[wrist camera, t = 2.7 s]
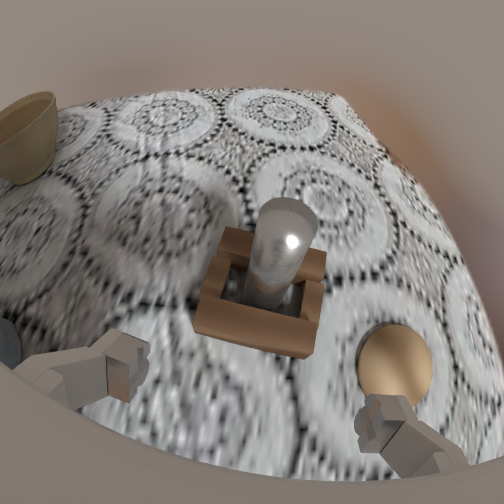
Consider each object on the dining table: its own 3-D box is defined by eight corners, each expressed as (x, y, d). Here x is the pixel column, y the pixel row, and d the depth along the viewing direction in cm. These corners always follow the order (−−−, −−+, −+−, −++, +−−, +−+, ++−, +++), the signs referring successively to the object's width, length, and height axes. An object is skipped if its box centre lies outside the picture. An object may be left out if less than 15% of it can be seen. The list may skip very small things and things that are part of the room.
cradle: (308, 360, 27) (318, 354, 24) (190, 331, 27) (187, 321, 25) (322, 266, 33) (331, 253, 30) (220, 240, 33) (221, 225, 30)
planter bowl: (74, 127, 43) (61, 80, 34) (67, 181, 36) (44, 124, 26) (8, 154, 39) (-10, 113, 29) (-10, 213, 31) (-40, 167, 22)
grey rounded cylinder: (259, 323, 28) (287, 256, 17) (234, 294, 30) (245, 213, 19) (288, 300, 30) (329, 226, 19) (263, 273, 31) (289, 189, 20)
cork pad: (396, 429, 23) (399, 429, 22) (339, 369, 26) (341, 368, 26) (441, 365, 27) (444, 364, 26) (392, 309, 30) (394, 307, 30)
